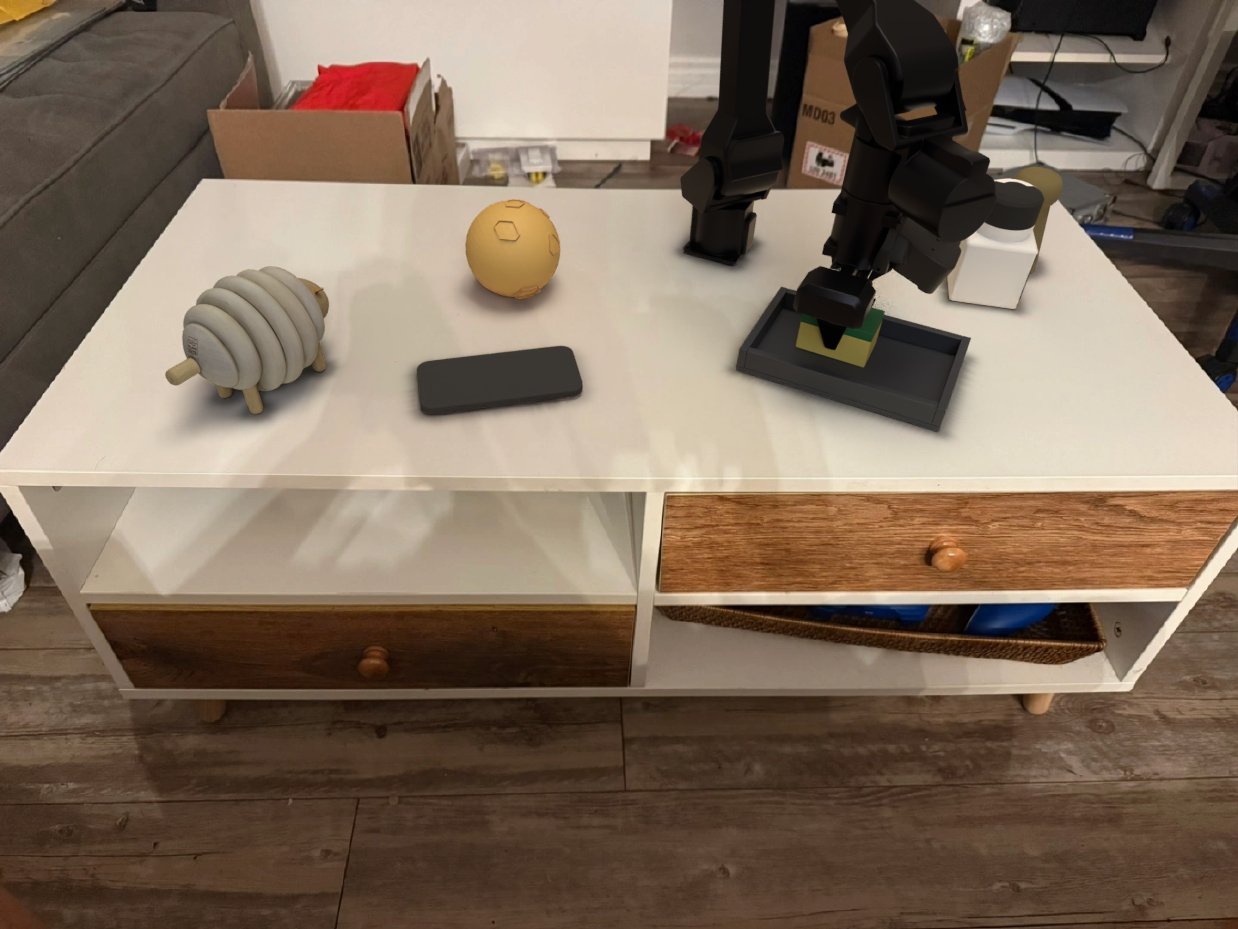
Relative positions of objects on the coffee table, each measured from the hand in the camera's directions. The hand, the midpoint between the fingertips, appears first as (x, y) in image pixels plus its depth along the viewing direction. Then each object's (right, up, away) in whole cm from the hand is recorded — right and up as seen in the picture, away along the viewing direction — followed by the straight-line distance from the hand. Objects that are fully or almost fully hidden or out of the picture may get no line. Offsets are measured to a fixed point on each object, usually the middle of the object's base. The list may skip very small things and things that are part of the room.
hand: (837, 335), depth 88 cm
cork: (+24, +11, +15) cm, 30 cm away
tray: (+1, -3, 0) cm, 3 cm away
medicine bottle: (+18, +7, +11) cm, 22 cm away
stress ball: (-33, +6, +8) cm, 34 cm away
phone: (-33, -5, -4) cm, 34 cm away
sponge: (0, -1, +1) cm, 1 cm away
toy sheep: (-55, -5, -5) cm, 55 cm away
